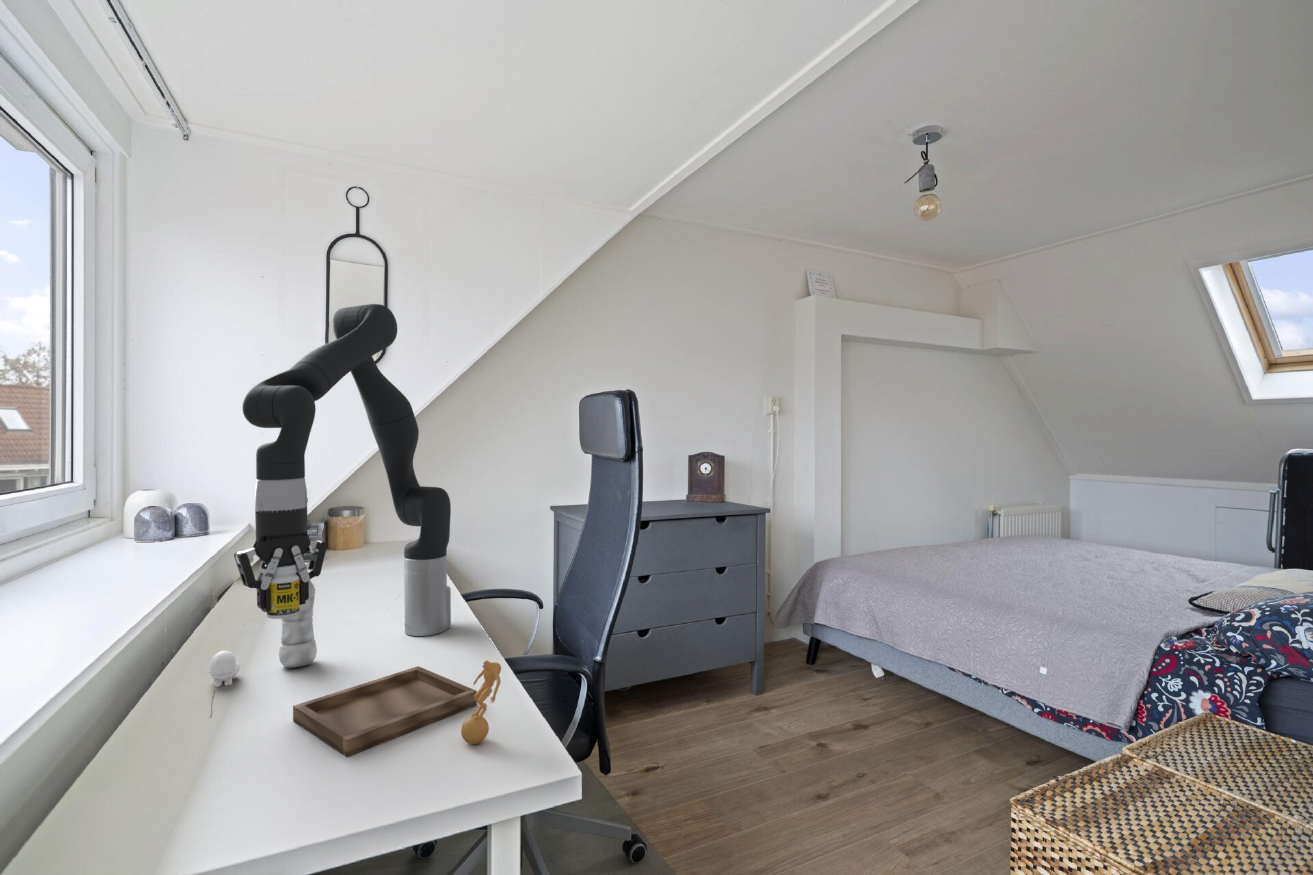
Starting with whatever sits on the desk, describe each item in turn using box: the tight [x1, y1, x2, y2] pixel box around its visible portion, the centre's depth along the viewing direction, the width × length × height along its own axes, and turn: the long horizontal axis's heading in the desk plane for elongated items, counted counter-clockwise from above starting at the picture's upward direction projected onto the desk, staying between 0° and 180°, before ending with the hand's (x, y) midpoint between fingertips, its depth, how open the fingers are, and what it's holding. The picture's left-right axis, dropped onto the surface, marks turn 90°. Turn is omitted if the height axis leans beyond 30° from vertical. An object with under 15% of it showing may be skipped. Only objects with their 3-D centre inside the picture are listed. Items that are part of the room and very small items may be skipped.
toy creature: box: [208, 650, 241, 687], centre depth 120 cm, size 5×8×6 cm, turn 25°
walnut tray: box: [292, 665, 478, 758], centre depth 107 cm, size 22×18×2 cm
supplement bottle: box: [266, 564, 300, 620], centre depth 109 cm, size 5×5×8 cm
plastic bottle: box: [278, 562, 318, 669], centre depth 128 cm, size 6×7×20 cm
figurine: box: [460, 659, 502, 745], centre depth 98 cm, size 8×6×12 cm
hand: (283, 606), depth 109 cm, fingers closed on supplement bottle, 4 cm apart
